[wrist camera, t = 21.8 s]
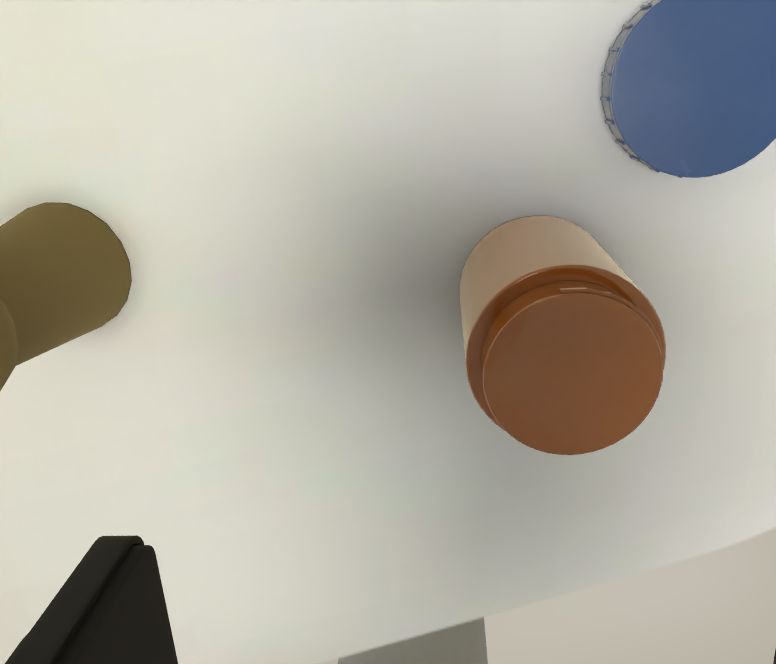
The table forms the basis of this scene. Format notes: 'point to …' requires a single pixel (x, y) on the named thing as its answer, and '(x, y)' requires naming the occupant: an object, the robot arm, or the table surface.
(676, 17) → the jar lid
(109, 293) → the olive game pawn
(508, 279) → the jam jar
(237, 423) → the table surface
